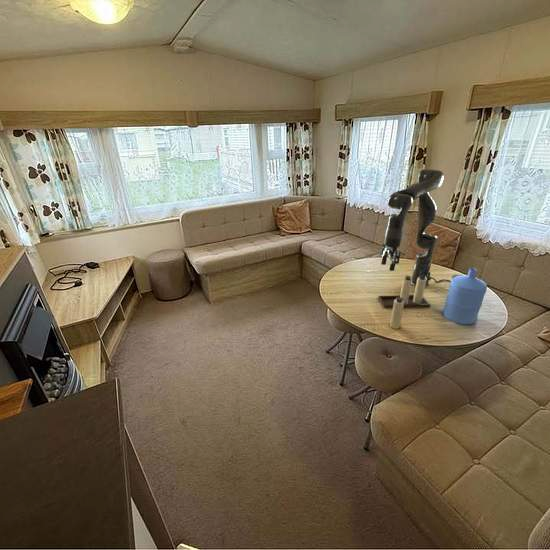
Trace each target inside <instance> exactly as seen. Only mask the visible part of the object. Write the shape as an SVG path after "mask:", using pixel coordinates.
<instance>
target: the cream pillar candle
mask: <svg viewBox="0 0 550 550" xmlns="http://www.w3.org/2000/svg"><path fill="white" fill-rule="evenodd" d="M403 306H404V301H403V298H401V297H397V299H395V300H394V305H393V308H392V311H391V316H390V321H389V322H390V323H389V327H390V328H392V329H395V330H398V329H399V328H400V326H401V321H402V317H403V316H402V315H403V311H404V307H403Z"/></svg>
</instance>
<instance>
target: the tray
mask: <svg viewBox="0 0 550 550" xmlns="http://www.w3.org/2000/svg"><path fill="white" fill-rule="evenodd" d="M397 297H400V294H399V295H378V297H377V298H378V300H379V302H380V303H381V305H382V307H383V308H384V309H386V308H387V309H388V308H391V309H393V305H394V300H395V299H397ZM413 298H414V294H409V298H408V303H407V304H404V306H403V308H429V307H431V304H430V302H429V301H428V300H427V299H426V298H425V296H423V298H422V302H421V304H416V303H414V302H413Z"/></svg>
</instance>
